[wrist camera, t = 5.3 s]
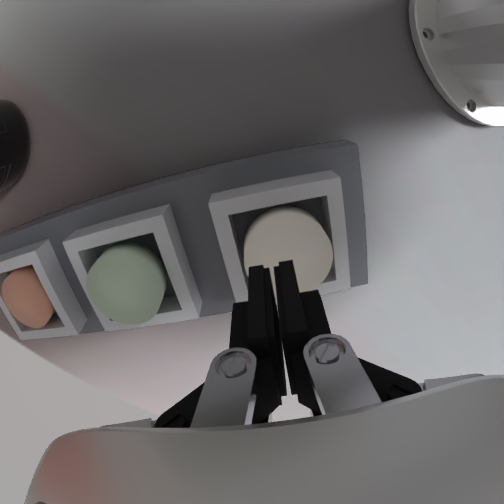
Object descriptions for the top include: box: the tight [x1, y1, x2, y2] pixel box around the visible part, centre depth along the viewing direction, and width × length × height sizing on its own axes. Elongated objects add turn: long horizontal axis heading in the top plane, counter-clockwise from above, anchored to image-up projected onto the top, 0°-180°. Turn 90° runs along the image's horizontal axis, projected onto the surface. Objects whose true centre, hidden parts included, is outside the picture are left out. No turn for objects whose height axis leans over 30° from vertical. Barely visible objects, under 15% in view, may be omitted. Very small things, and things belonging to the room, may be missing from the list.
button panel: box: [0, 140, 368, 340], centre depth 19 cm, size 28×9×4 cm, turn 102°
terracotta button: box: [2, 264, 56, 328], centre depth 18 cm, size 4×4×2 cm
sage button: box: [87, 242, 167, 325], centre depth 17 cm, size 4×4×2 cm
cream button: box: [244, 206, 333, 297], centre depth 16 cm, size 4×4×2 cm
